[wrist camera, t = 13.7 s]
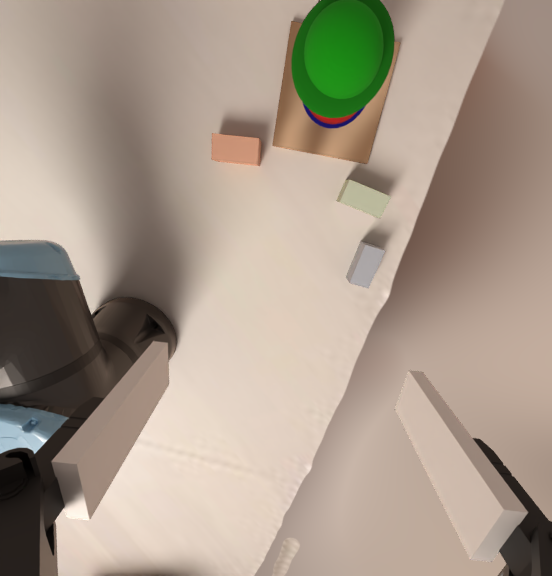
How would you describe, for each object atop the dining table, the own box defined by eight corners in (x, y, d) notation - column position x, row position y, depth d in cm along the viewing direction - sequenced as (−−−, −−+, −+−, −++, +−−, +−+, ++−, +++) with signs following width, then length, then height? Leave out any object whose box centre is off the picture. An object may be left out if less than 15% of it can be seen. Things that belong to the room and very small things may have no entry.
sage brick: (336, 200, 38) (339, 202, 35) (345, 180, 37) (349, 179, 34) (373, 216, 39) (380, 218, 36) (383, 196, 38) (391, 196, 35)
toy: (330, 154, 35) (356, 132, 21) (278, 112, 34) (268, 60, 20) (377, 86, 32) (441, 10, 18) (321, 37, 31) (345, -85, 17)
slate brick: (363, 281, 42) (368, 288, 40) (345, 276, 42) (349, 282, 39) (378, 246, 40) (385, 250, 37) (360, 240, 40) (365, 244, 37)
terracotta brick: (217, 161, 37) (211, 159, 34) (218, 137, 36) (212, 133, 33) (259, 166, 37) (257, 164, 34) (261, 142, 36) (259, 138, 33)
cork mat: (272, 145, 36) (272, 145, 35) (291, 24, 31) (291, 21, 31) (366, 163, 36) (367, 163, 36) (398, 45, 31) (400, 42, 31)
